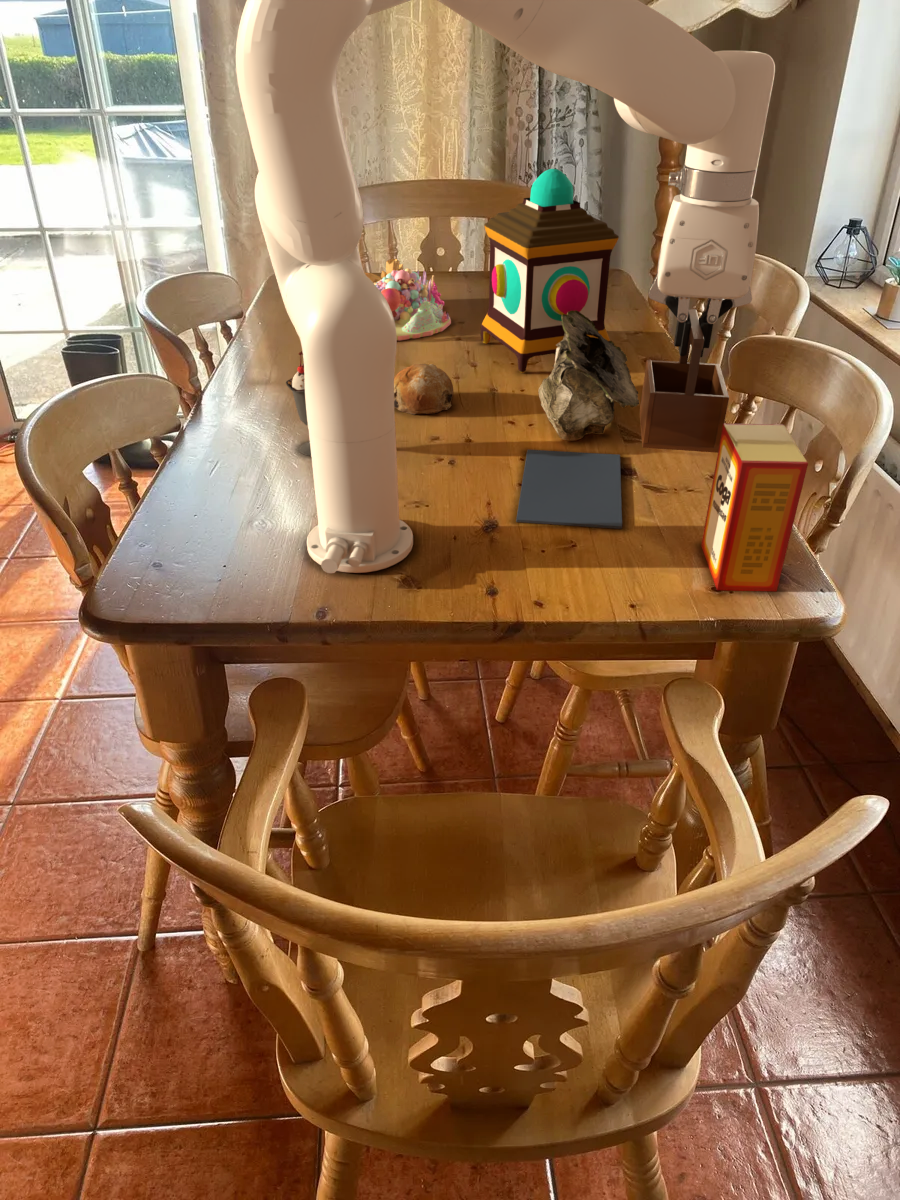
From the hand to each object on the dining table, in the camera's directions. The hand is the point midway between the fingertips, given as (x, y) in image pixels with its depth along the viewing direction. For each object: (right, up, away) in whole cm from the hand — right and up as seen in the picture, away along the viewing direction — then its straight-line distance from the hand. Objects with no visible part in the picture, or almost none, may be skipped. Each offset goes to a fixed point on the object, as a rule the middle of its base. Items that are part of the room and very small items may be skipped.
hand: (690, 352), depth 108 cm
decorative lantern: (-12, +15, +55) cm, 58 cm away
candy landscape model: (-39, +26, +70) cm, 85 cm away
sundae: (-48, -8, +23) cm, 53 cm away
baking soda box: (+5, -26, -3) cm, 26 cm away
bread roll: (-33, +1, +36) cm, 49 cm away
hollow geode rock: (-7, 0, +34) cm, 34 cm away
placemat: (-12, -15, +13) cm, 23 cm away
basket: (0, -8, +6) cm, 10 cm away
